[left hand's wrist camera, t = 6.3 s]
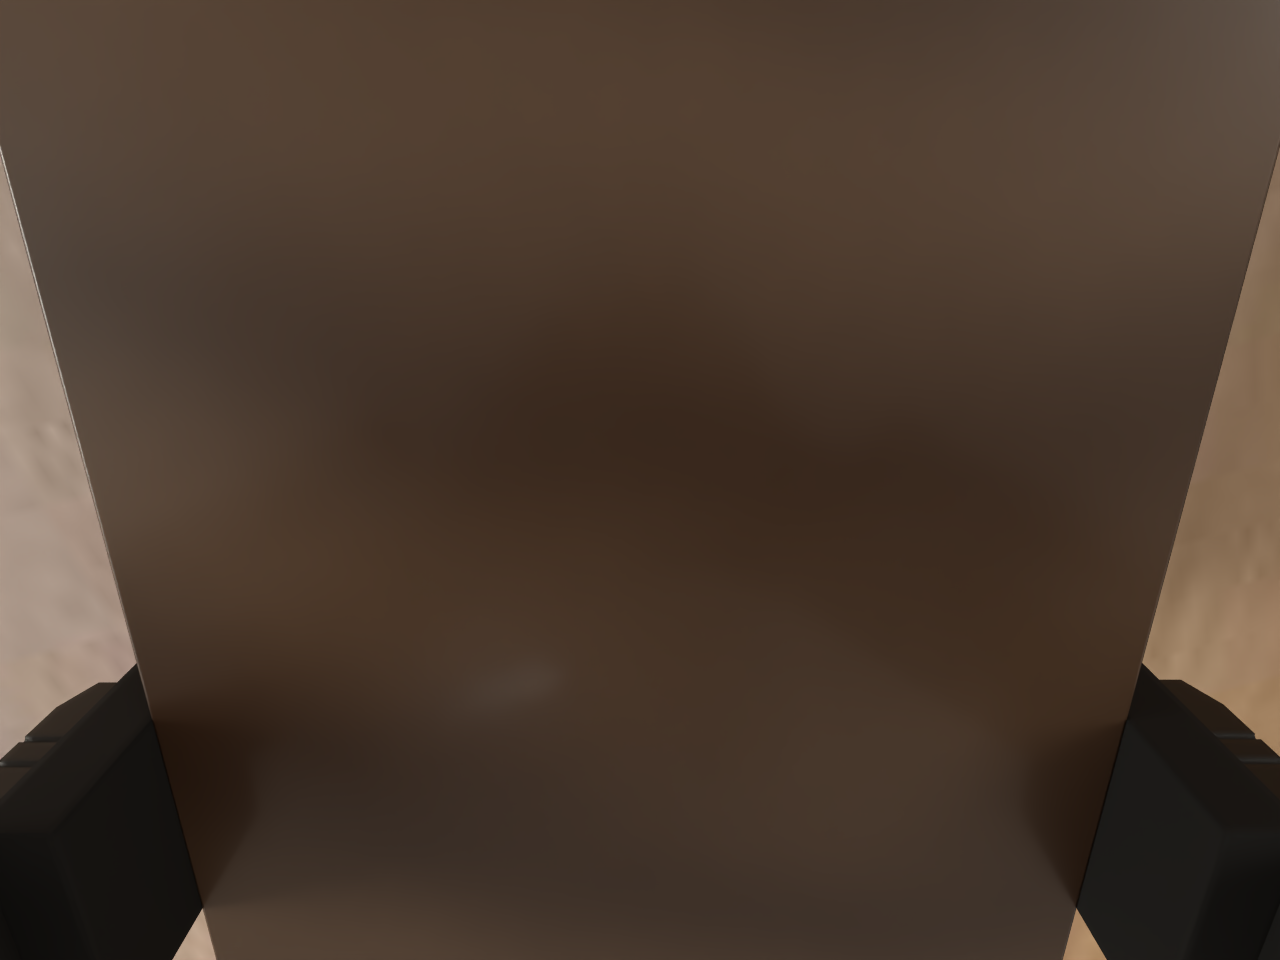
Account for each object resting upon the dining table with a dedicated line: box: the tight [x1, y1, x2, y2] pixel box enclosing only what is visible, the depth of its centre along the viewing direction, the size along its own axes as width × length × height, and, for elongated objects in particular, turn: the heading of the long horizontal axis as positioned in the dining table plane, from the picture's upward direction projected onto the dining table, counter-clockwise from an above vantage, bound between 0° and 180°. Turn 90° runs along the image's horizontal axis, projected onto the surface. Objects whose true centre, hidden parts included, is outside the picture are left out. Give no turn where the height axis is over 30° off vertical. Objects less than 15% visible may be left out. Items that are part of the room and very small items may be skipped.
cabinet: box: [0, 0, 1280, 960], centre depth 12 cm, size 18×10×10 cm, turn 0°
